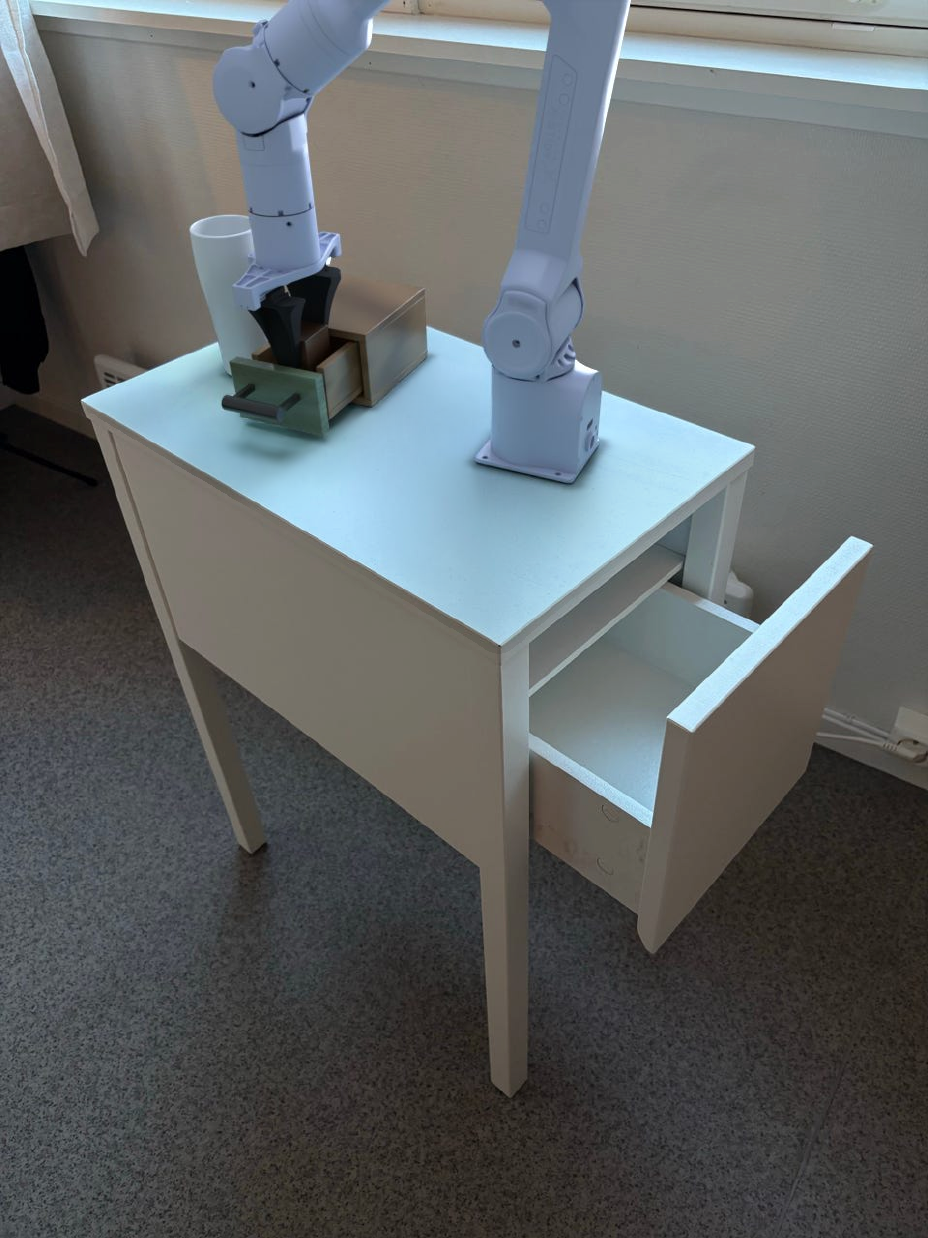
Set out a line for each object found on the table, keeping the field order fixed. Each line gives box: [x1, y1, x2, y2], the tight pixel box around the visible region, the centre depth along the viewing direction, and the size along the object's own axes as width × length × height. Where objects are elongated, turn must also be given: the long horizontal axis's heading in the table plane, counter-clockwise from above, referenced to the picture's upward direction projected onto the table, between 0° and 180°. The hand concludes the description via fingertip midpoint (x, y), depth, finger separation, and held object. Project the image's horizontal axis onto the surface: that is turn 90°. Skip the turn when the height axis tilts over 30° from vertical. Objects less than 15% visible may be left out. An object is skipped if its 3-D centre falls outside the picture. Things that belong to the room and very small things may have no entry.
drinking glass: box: [188, 214, 268, 377], centre depth 94 cm, size 7×7×15 cm
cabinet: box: [328, 273, 429, 408], centre depth 95 cm, size 13×11×8 cm
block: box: [271, 320, 331, 373], centre depth 87 cm, size 4×4×4 cm
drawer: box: [221, 336, 364, 437], centre depth 88 cm, size 16×9×6 cm, turn 155°
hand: (302, 355), depth 88 cm, fingers closed on block, 4 cm apart
